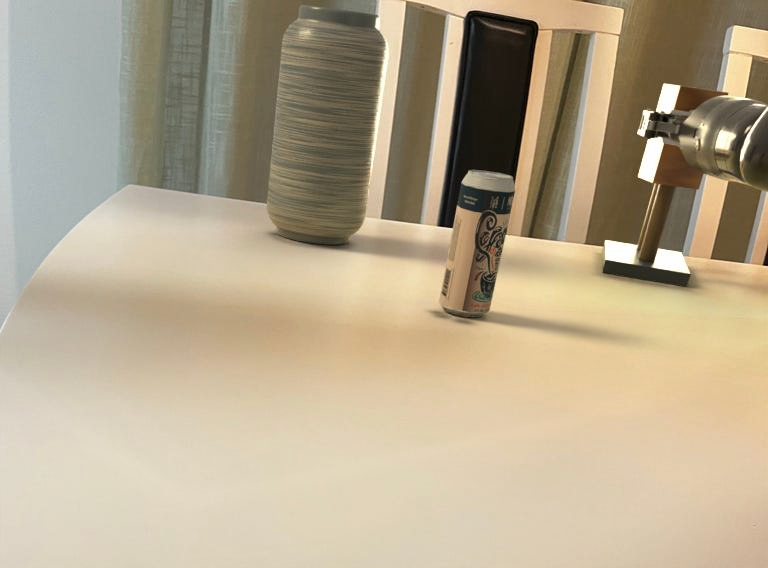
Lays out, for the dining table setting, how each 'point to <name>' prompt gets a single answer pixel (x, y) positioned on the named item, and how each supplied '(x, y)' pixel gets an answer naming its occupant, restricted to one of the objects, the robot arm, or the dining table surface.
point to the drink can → (477, 242)
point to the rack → (648, 247)
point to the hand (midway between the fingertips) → (676, 125)
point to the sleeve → (667, 159)
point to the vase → (326, 124)
